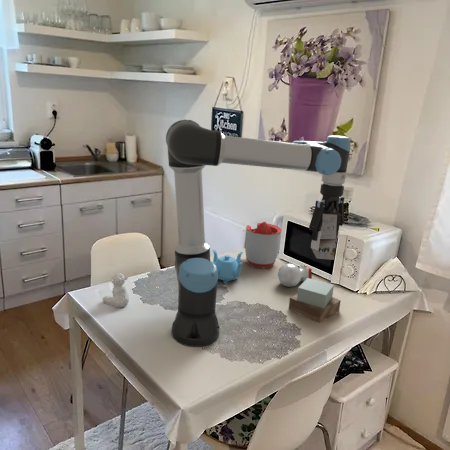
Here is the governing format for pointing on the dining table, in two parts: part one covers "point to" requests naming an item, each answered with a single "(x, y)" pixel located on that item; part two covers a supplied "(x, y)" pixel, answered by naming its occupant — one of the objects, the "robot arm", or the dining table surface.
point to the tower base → (314, 309)
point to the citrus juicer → (262, 245)
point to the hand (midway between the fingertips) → (323, 245)
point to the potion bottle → (293, 274)
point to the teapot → (227, 267)
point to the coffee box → (328, 235)
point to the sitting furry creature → (118, 292)
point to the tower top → (315, 292)
